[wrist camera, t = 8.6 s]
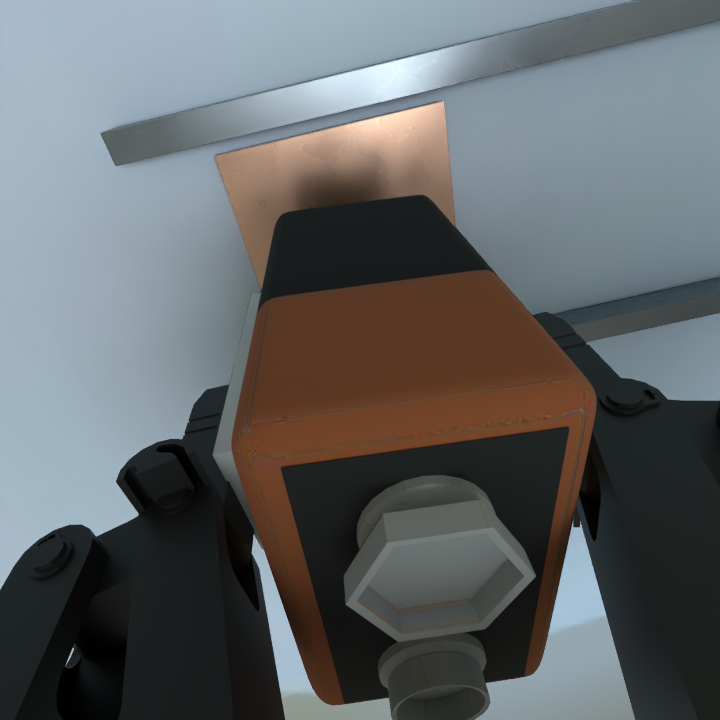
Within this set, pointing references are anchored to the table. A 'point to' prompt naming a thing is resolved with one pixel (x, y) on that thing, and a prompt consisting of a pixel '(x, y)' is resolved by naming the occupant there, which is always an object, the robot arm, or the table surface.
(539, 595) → the battery
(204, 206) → the table surface
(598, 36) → the rail
